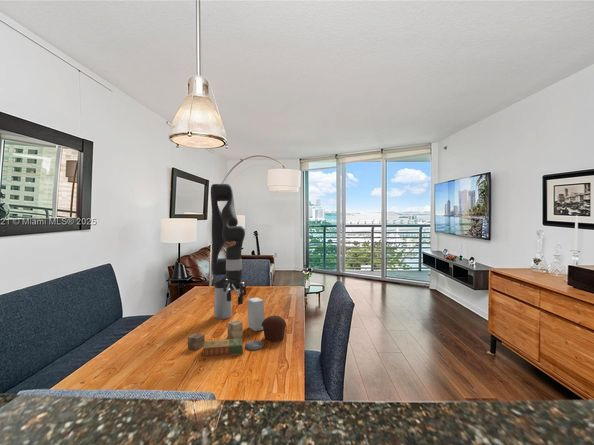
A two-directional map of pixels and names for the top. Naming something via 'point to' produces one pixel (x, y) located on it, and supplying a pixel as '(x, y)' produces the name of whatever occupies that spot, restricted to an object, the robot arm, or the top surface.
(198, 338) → the walnut block
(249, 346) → the grey disc
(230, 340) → the carton
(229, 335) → the oak block
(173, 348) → the top surface
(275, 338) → the muffin
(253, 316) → the skincare box
